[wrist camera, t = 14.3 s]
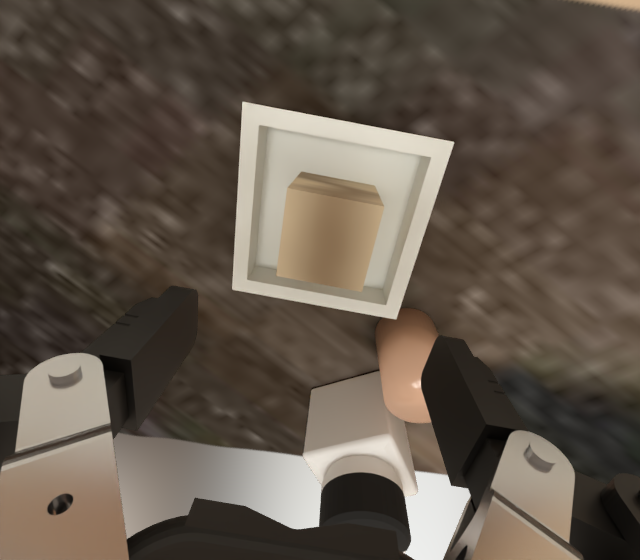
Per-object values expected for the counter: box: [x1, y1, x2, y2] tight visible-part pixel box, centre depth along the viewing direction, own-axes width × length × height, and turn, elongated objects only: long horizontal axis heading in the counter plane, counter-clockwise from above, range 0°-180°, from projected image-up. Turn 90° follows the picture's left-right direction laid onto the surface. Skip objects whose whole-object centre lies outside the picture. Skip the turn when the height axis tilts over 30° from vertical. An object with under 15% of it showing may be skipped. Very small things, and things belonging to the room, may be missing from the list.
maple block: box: [276, 171, 384, 292], centre depth 20 cm, size 5×5×6 cm
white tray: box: [232, 102, 454, 319], centre depth 22 cm, size 12×12×3 cm
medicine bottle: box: [303, 371, 418, 553], centre depth 26 cm, size 7×7×12 cm
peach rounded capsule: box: [375, 308, 439, 423], centre depth 25 cm, size 5×5×7 cm
